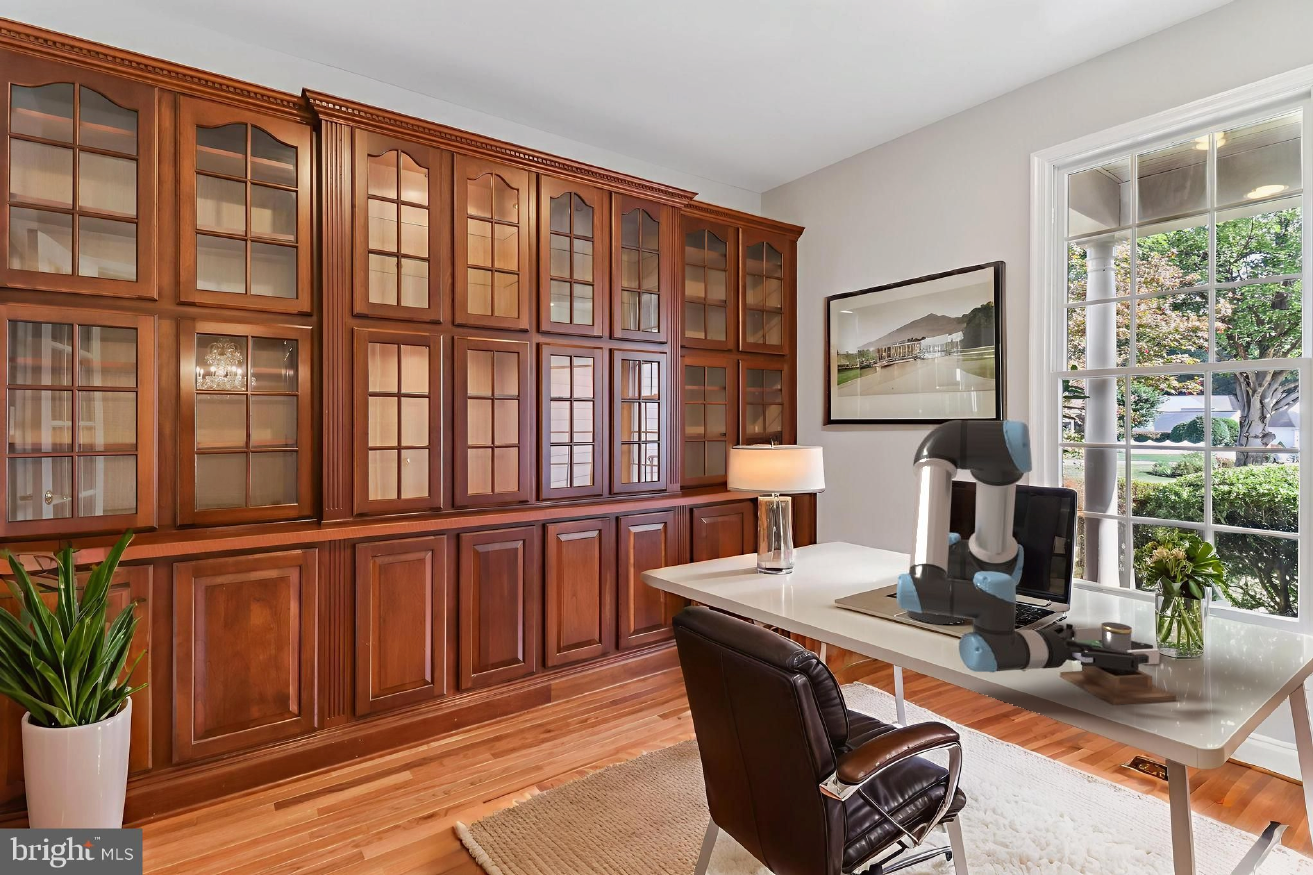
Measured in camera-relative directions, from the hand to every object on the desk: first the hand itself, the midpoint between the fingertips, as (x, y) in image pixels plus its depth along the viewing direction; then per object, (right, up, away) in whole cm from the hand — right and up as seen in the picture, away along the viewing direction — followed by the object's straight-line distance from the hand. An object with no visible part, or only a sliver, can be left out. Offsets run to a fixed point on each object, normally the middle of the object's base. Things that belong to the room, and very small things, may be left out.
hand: (1128, 644), depth 139 cm
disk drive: (+11, -9, +21) cm, 26 cm away
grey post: (-3, -8, 0) cm, 9 cm away
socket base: (-3, -9, 0) cm, 9 cm away
